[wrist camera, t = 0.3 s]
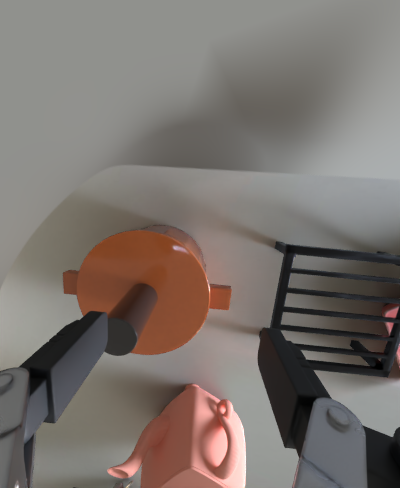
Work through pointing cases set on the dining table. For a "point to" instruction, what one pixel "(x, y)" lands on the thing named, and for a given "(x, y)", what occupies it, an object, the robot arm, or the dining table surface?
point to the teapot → (190, 445)
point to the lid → (144, 291)
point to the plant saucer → (391, 311)
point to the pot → (217, 292)
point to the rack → (395, 339)
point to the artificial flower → (121, 485)
